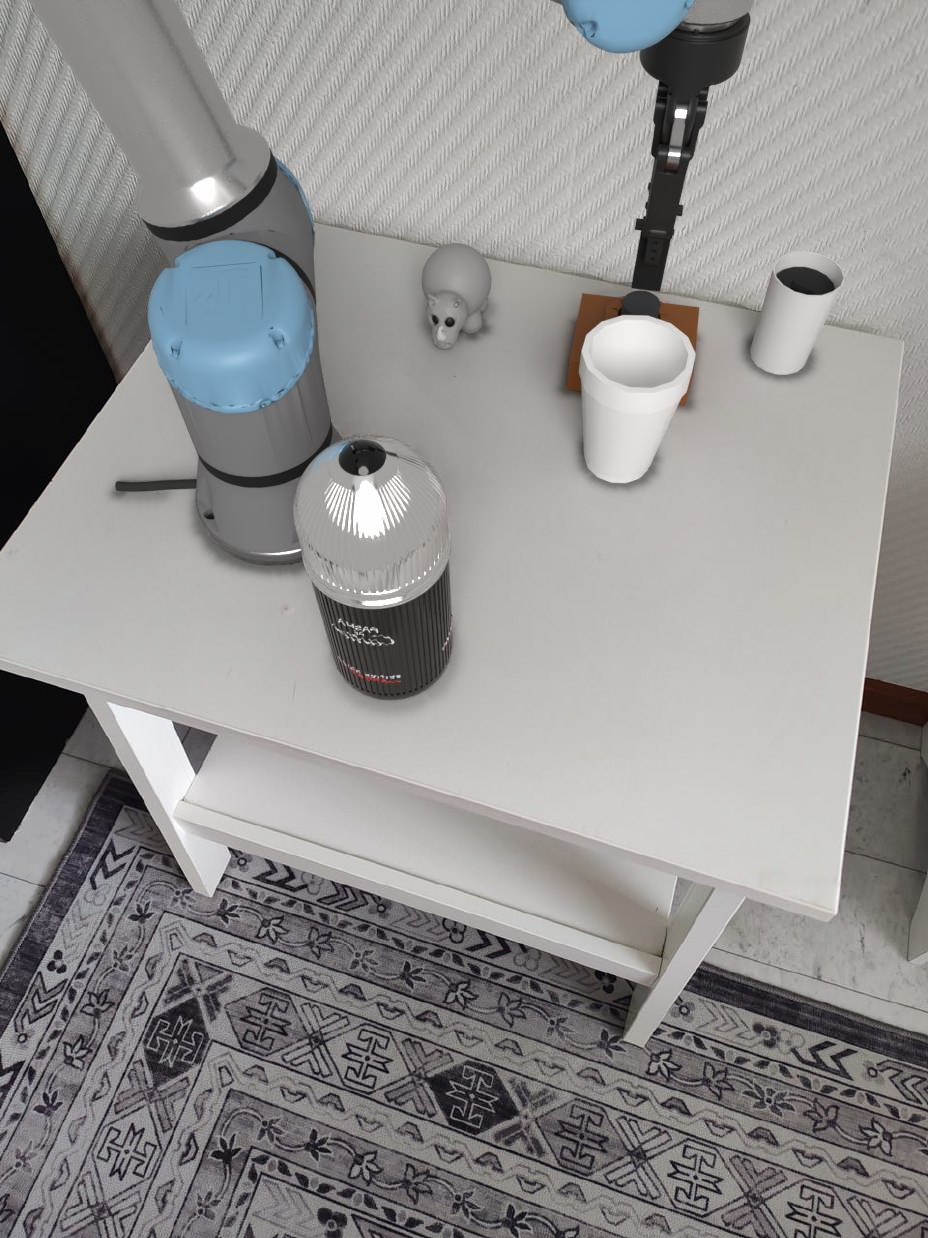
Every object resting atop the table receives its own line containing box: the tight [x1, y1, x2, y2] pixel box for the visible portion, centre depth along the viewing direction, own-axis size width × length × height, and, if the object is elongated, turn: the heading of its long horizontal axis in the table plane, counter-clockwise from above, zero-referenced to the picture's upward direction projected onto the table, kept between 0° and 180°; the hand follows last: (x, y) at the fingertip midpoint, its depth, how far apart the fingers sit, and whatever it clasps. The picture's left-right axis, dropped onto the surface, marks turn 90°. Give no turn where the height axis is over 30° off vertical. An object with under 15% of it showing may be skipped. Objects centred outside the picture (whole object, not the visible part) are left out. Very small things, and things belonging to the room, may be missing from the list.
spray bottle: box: [293, 434, 454, 702], centre depth 63 cm, size 10×10×25 cm
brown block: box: [565, 292, 700, 406], centre depth 89 cm, size 12×10×6 cm
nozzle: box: [620, 289, 661, 319], centre depth 86 cm, size 4×4×2 cm
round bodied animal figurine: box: [420, 242, 492, 351], centre depth 91 cm, size 7×12×8 cm, turn 167°
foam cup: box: [579, 315, 697, 484], centre depth 79 cm, size 10×9×13 cm
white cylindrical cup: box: [749, 250, 846, 376], centre depth 88 cm, size 7×7×10 cm
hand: (646, 284), depth 83 cm, fingers closed
